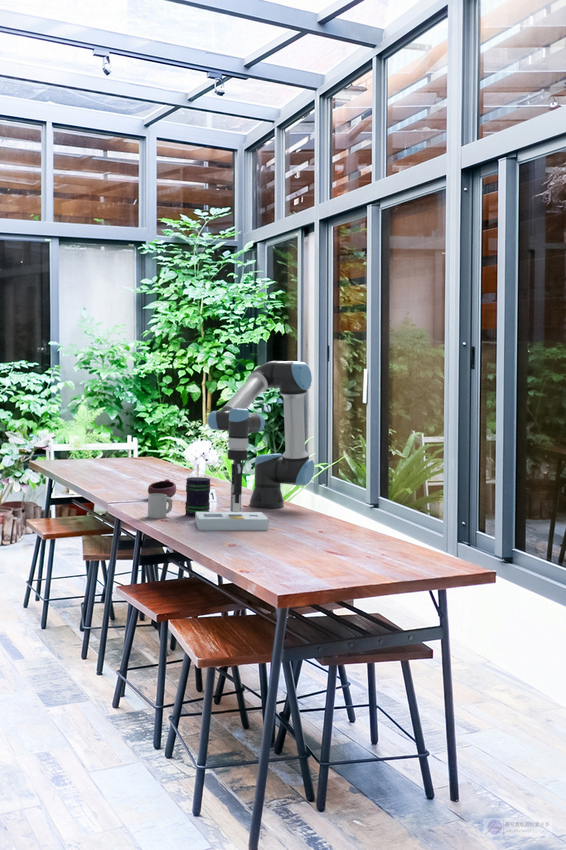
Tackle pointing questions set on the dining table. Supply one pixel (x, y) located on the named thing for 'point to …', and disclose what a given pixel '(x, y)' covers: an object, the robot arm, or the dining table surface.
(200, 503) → the storage jar
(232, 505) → the grey rounded cylinder
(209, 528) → the block
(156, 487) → the bowl
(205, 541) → the dining table surface
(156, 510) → the cup
